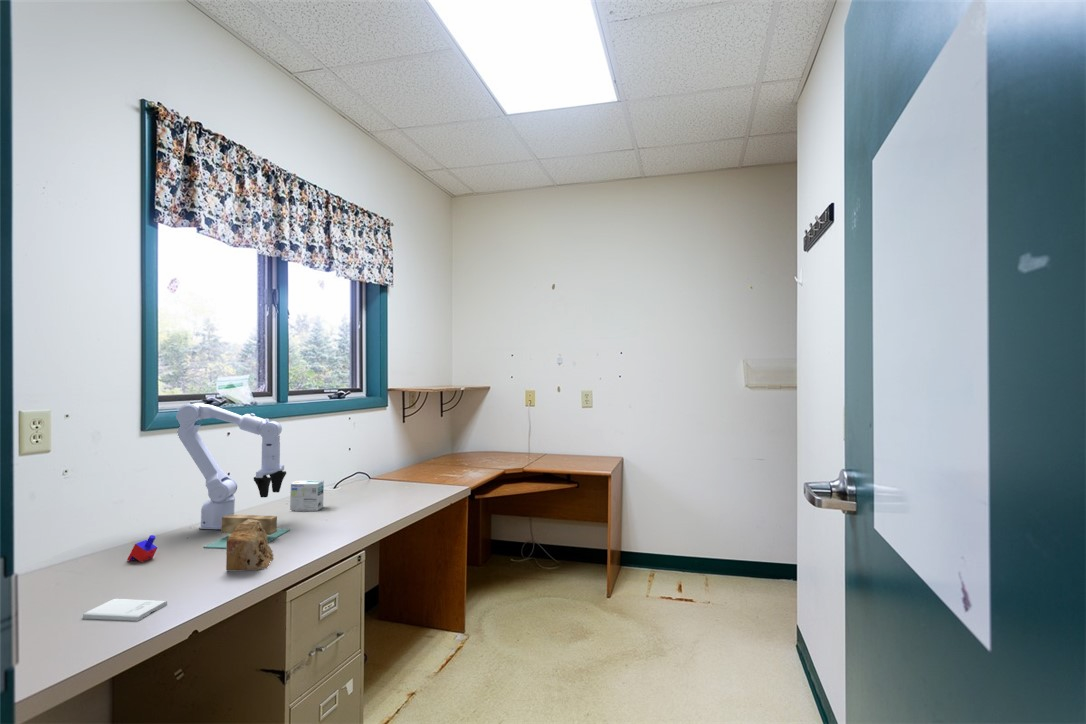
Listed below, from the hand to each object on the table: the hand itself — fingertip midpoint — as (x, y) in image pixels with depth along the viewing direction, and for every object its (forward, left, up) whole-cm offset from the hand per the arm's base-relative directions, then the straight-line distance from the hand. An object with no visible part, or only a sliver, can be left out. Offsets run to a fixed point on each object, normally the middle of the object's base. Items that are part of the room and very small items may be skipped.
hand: (270, 494), depth 185 cm
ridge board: (+3, -16, -10) cm, 19 cm away
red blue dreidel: (-15, -37, -11) cm, 41 cm away
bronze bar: (+3, -16, -8) cm, 18 cm away
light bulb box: (+3, +22, -11) cm, 25 cm away
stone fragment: (+17, -36, -11) cm, 41 cm away
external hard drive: (+6, -68, -11) cm, 69 cm away
